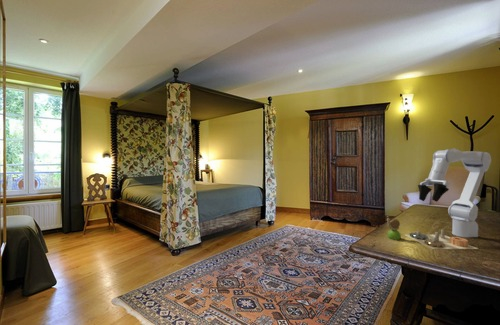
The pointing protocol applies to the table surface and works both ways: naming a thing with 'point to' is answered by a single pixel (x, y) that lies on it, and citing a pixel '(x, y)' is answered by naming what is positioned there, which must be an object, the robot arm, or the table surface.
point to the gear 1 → (419, 236)
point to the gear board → (442, 239)
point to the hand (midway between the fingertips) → (427, 200)
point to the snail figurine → (393, 229)
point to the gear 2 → (431, 243)
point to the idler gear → (459, 241)
